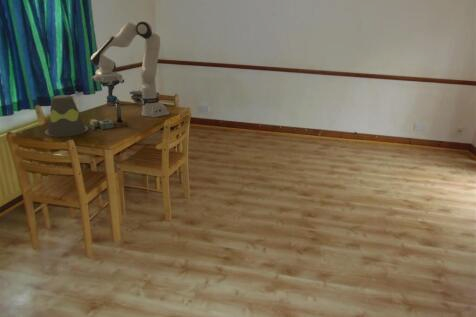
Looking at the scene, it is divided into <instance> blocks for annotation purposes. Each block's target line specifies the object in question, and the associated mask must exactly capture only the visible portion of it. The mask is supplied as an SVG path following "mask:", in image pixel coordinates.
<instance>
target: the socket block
mask: <svg viewBox="0 0 476 317" xmlns="http://www.w3.org/2000/svg"><path fill="white" fill-rule="evenodd" d="M97 121H98V123H99V127H98V128H100V129H101V130H106V129H113V128H114V127H115V126H114V125H113V120H111V119H105V120H97ZM88 123H89V129H91V130H92V131H96V127H94V124H93V123H92V122H90V121H89V122H88Z"/></svg>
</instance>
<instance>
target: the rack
mask: <svg viewBox="0 0 476 317" xmlns="http://www.w3.org/2000/svg"><path fill="white" fill-rule="evenodd" d="M112 122H113V125H114V127H115V128H121V127H128V122H127V121H126V120H125V119H122V122H118V123H117V119H116V120H112Z"/></svg>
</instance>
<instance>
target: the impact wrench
mask: <svg viewBox="0 0 476 317" xmlns="http://www.w3.org/2000/svg"><path fill="white" fill-rule="evenodd" d="M99 82H100V84H101V85H102V87H107V88H108V89H107V91H108V95H107V96H106V104H107V106H116V104H117V103H116V100H117V99H118V97H117V95H116V96H115V95H114V94H113V91H114V89H115V86H116V85H117V86H118V85H120V84H124V83H125V79H124V78H122V80H116V81H111V82H107V83H105V82H103V81H99Z"/></svg>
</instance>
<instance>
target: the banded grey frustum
mask: <svg viewBox="0 0 476 317" xmlns="http://www.w3.org/2000/svg"><path fill="white" fill-rule="evenodd" d="M48 119H49V120H48V128H47V129H46V130H45V131H44V134H45V136H46V135H47V136H50V137H55V138H56V137H57V138H59V137H61V138H62V137H72V136H77V135H78V136H79V135H82V134H85V133H86V132H87V131H89V127H88V126H87V125H85V124H84V122H83V120H82V117H81V115H80V113H79V112H78V108H77V106H76V103H75V101H74V98H73V97H72V96H71V95H68V94H67V95H66V94H60V95H55V96H53V97H52V99H51V104H50V115H49V118H48Z"/></svg>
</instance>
